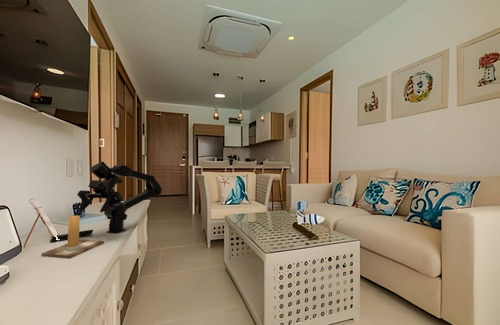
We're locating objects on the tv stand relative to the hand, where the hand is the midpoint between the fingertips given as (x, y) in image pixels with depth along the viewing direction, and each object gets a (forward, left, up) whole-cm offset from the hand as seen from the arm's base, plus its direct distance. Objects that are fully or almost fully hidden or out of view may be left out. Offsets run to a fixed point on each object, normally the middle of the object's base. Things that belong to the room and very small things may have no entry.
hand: (90, 211), depth 96 cm
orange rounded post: (+10, +3, -12) cm, 17 cm away
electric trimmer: (-3, -12, -14) cm, 19 cm away
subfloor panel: (+8, +1, -14) cm, 16 cm away
